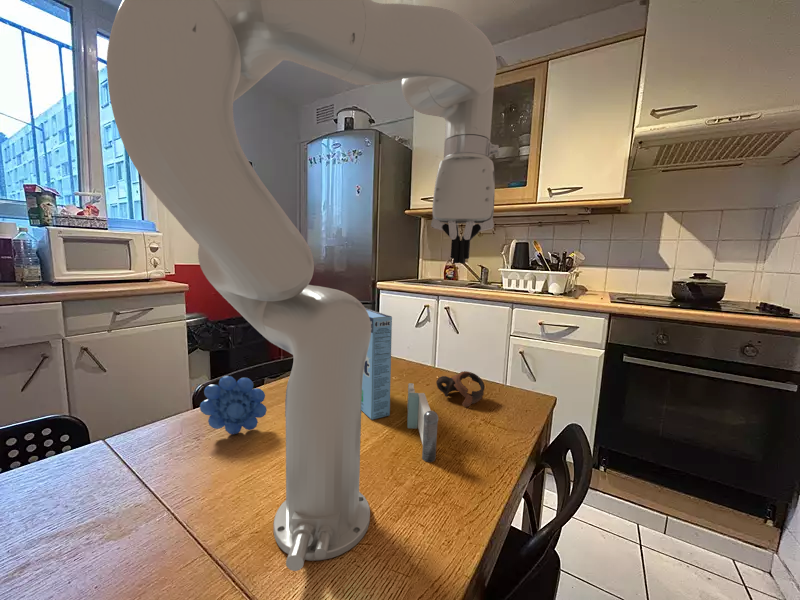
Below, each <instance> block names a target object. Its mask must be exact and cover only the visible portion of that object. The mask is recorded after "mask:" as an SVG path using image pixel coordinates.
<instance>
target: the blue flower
mask: <svg viewBox="0 0 800 600" xmlns="http://www.w3.org/2000/svg"><path fill="white" fill-rule="evenodd" d="M203 393H204V396H205V398H207V399H204V400H203V401H202V402H200V405H199V410H200V412H201V413H202V414H203V415H206V416H209V417H208V420H207V422H208V425H209V426H210V427H211V428H213V429H214V430H218V429H222V428H224V429H225V432H227V434H230V435H236V434H239V433H240V432H241V431H242V428H244V429H245V430H247V431H251V430H254V429H255V428H257V425H258V418H262V417H264V416H265V415H266V414H267V410H268V409H267V406H266V405H265V404H264V403H262V402H263V401H265V398H266V393H265V391H264V390H262V389H261V388H258V387H256V388H255V387H254V382H253V381H252V380H251V379H250V377H249V378H248V377H241V378H239V379H238V380H236V378H234V377H233V376H231V375H230V376H229V375H224V376H222V377H221V378H219V381H218V384H209V385H207V386H205V388H204V391H203Z"/></svg>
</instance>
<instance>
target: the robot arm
mask: <svg viewBox="0 0 800 600" xmlns="http://www.w3.org/2000/svg"><path fill="white" fill-rule="evenodd" d="M106 53H107V54H106V71H107V73H106V75H107V84H108V85H107V86H108V93H109V98H110V99H109V100H110V106H111V110H112V114H113V117H114V121H115V125H116V127H117V131H118V133H119V137H120V139H121V141H122V143H123V147H124V148H125V151H126V152H127V154H128V158H130V160H131V162H132V164H133V166H134V167H135V169H136V170H137V172H138V174H139V175H140V177H141V179H143V181H144V182H145V184H146V185H147V186H148V188H149V189H150V191H152V193H153V194H154V195H155V196H156V198H158V200H159V201H160V203H162V205H163V206H164V207H165V208H166V209H167V210H168V212H170V214H171V215H172V216H173V217H174V218H175V219H176V221H177V222H178V223H179V225H181V226H182V228H183V229H184V230H185V232H186V233H187V234H189V236H190V237H191V238H192V239H193V240H194V241H195V242H196V243H197V244H198V250H197V255H198V256H197V257H198V263H199V266H200V269H201V271H202V273H203V275H204V276H205V279H206V280H207V281H208V282H209V284H210V285H211V286H212V287H213V288H214V289H215V291H217V292H218V294H220V295H221V297H222V298H223V299H225V301H227V303H228V304H230V305H231V306H232V307H233V309H234V310H236V311H237V313H239V314H240V315H241V316H242V317H243V319H245V321H247V322H248V323H249V324H250V326H252V327H253V328H254V329H255V330H256V331H257V332H258V333H259V334H260V335H262V337H263V338H265V339H266V340H267V341H268V342H269V343H271V344H273V345H274V346H276V347H277V348H280V349H282V350H284V351H285V352H287V353H289V354H291V355H292V356H293V363H292V368H291V371H290V375H289V378H288V381H287V384H286V391H285V399H284V400H285V401H284V402H285V403H284V404H285V405H284V407H285V408H284V410H285V411H284V412H285V413H284V417H285V500H284V501H283V502H282V503H281V505H280V506H279V507H278V508H277V511H276V513H275V515H274V519H273V536H274V540H275V542H276V543H277V546H278V547H279V548H280V549H281V550H282V551H283V552H284V553H286V554H287V557H286V560H285V565H286V567H287V569H289V570H290V571H293V572H298V571H300V570H301V569H303V567H304V564H305V560H306V561H323V560H329V559H332V558H335V557H338V556H341V555H343V554H344V553H346V552H348V551H350V550H351V549H352V548H355V546H356V545H358V543H359V542H360V541H361V540H362V539H363V538H364V536H365V535H366V533H367V532H368V529H369V526H370V520H371V519H370V518H371V508H370V504H369V502H368V500H367V499H366V497H365V495H364V494H363V493H361V492H360V476H361V475H360V473H361V472H360V470H361V469H360V468H361V463H360V462H361V435H362V433H361V432H362V430H361V429H362V410H361V397H362V381H363V372H364V366H365V360H366V356H367V352H368V348H369V343H370V337H371V322H370V318H369V315H368V313H367V311H366V309H365V308H366V307H365V306H364V305H363V303H362V302H361V301H360V300H359V299H358V298H356V297H355V296H353V295H351V294H349V293H347V292H346V291H342V290H339V289H335V288H330V287H325V286H320V285H312V284H310V282H311V280H312V279H313V275H314V272H315V271H314V270H315V263H314V256H313V253H312V250H311V248H310V246H309V245H308V242H307V241H306V239H305V238H304V237H303V235H302V234H301V231H300V230H299V229H298V228H297V227H296V225H295V224H294V223H293V222H292V220H291V219H290V218H289V216H288V215H287V214H286V212H285V211H284V209H283V208H282V207H281V205H280V204H279V203H278V202H277V199H275V197H274V196H273V194H271V192H270V191H269V190H268V188H267V187H266V185H265V183H264V182H263V181H262V180H261V178H260V176H259V174H257V172H256V171H255V169H254V167H253V166H252V164H251V162H250V161H249V160H248V158H247V156H246V154H245V153H244V150H243V148H242V147H241V144H240V141H239V138H238V135H237V131H236V126H235V120H234V102H235V101H236V100H238V99H239V98H240V97H242V96H243V95H244V94H245V93H246V92H248V91H249V90H250V89H252V87H254V86H255V85H256V84H257V83H259V81H261V80H262V79H263V78H264V77H265V76H266V75H267V74H269V73H270V72H271V71H272V70H273V69H274V68H276V67H277V66H279V65H280V63H282V62H283V61H288V62H292V63H295V64H298V65H301V66H303V67H307V68H309V69H312V70H315V71H318V72H320V73H324V74H326V75H329V76H331V77H334V78H337V79H339V80H343V81H344V82H347V83H349V84H353V85H357V86H370V85H371V86H372V85H381V84H389V83H393V82H396V81H401V93H402V95H403V98H404V100H405V102H406V103H407V105H408V106H410V108H412V109H413V110H415V111H416V112H418V113H420V114H423V115H426V116H433V117H438V118H443V119H444V120H445V125H444V127H445V128H444V144H443V145H444V147H443V160H440V161H439V163H438V164H439V165H438V169H437V173H436V179H435V184H434V191H433V198H432V208H431V209H432V219H431V224H430V226H431V227H432V228H433V229H436V230H439V231H443V232H444V233H445V234H446V235H447V236H448V237H449V238H450V239H451V244H450V259H453V263H454V264H465V263H466V260H469V259H470V251H471V250H470V249H471V247H470V246H471V240H473V238H474V237H475V236H476V235H478V234H479V233H480V232H484V231H487V230H492V229H494V227H495V223H494V220H493V219H494V213H495V212H494V211H495V197H496V196H495V193H496V192H495V190H496V189H495V187H496V185H495V184H496V183H495V182H496V181H495V180H496V179H495V178H496V177H495V166H494V162H493V160H492V159H490V157H492V155H495V154H499V147H500V146H499V144H494V143H493V144H492V142H491V130H492V120H493V118H492V117H493V104H494V103H493V101H494V91H495V90H494V89H495V84H494V83H495V79H496V75H497V69H498V63H497V56H496V52H495V49H494V46H493V45H492V42H491V41H490V40H489V38H488V37H487V35H486V34H485V33H484V32H483V31H482V30H481V29H480V28H478V27H477V26H476V25H475V24H473V23H472V22H471V21H469V20H468V19H467V18H465V17H464V16H462V15H460V14H459V13H457V12H455V11H453V10H450V9H447V8H443V7H438V6H432V5H417V4H408V3H407V4H406V3H380V2H376V1H374V0H122V1H121V3H120V5H119V7H118V10H117V12H116V14H115V17H114V20H113V23H112V26H111V30H110V34H109V40H108V45H107V51H106ZM459 224H465V226H464V233H463V235H462V236H460V232H459Z"/></svg>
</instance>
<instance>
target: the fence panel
mask: <svg viewBox="0 0 800 600" xmlns="http://www.w3.org/2000/svg"><path fill="white" fill-rule="evenodd" d="M407 385H408V387H407V396H408V395H409V393H416V391H415V388H414V387H415V386H414V385H415V384H414V383H410V382H409V383H408V384H407ZM406 409H407V410H408V403H407V408H406Z"/></svg>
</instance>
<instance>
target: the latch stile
mask: <svg viewBox="0 0 800 600" xmlns="http://www.w3.org/2000/svg"><path fill="white" fill-rule="evenodd" d="M418 393H419V392H415V393H409V395H408V394H407V404H408V409H407V422H406V425H407V427H406V428H407V429H418V425H417V421H418V400H419V396H418Z"/></svg>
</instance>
